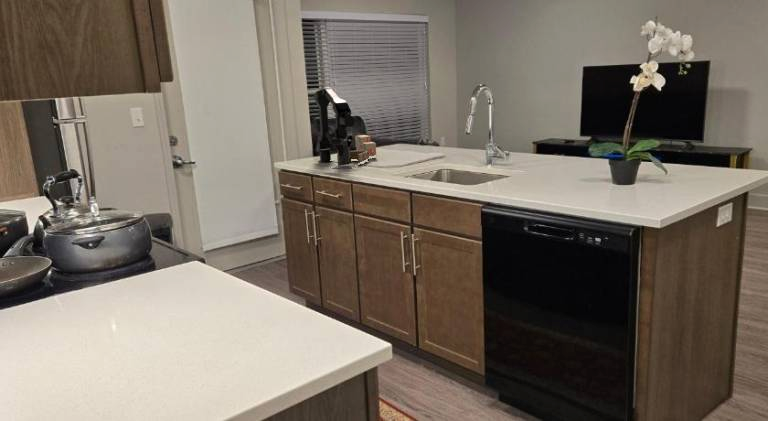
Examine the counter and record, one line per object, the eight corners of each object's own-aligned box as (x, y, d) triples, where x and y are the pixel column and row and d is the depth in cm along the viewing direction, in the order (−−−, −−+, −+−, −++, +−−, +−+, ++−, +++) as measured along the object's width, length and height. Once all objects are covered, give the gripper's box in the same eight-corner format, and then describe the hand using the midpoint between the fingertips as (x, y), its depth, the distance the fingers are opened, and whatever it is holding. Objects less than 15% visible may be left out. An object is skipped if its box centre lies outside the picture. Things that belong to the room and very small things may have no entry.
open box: (348, 161, 326) (347, 150, 324) (369, 161, 321) (368, 150, 320) (337, 165, 313) (337, 154, 311) (359, 165, 308) (358, 154, 307)
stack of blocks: (376, 159, 330) (375, 137, 327) (366, 160, 328) (365, 138, 326) (366, 154, 350) (364, 134, 347) (356, 155, 348) (354, 135, 345)
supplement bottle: (345, 162, 311) (343, 140, 308) (353, 163, 306) (352, 141, 303) (335, 164, 306) (333, 141, 303) (343, 165, 301) (342, 142, 298)
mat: (340, 165, 312) (340, 164, 312) (357, 165, 309) (356, 165, 309) (332, 168, 303) (332, 168, 303) (349, 169, 300) (349, 168, 300)
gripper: (335, 124, 312) (337, 152, 316) (320, 128, 295) (322, 158, 299) (354, 124, 308) (356, 152, 312) (339, 127, 292) (341, 158, 295)
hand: (343, 155), depth 305 cm, fingers closed on supplement bottle, 7 cm apart
